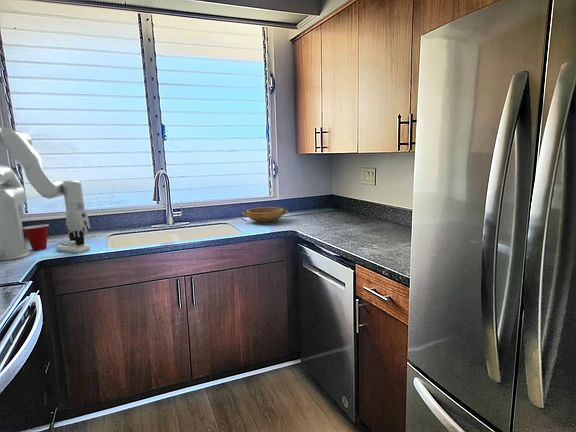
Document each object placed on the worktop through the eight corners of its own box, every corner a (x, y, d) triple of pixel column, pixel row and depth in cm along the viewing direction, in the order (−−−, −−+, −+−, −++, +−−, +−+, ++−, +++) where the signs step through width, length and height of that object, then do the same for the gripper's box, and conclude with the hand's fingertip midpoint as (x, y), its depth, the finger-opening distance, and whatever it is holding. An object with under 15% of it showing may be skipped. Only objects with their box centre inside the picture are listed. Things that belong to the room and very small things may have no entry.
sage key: (73, 246, 176) (72, 242, 176) (68, 245, 177) (68, 241, 177) (77, 245, 178) (76, 241, 178) (72, 244, 179) (72, 240, 179)
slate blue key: (66, 248, 178) (66, 244, 178) (62, 247, 179) (61, 243, 179) (70, 246, 180) (70, 243, 180) (66, 246, 181) (65, 242, 181)
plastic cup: (47, 245, 190) (44, 222, 188) (55, 248, 184) (52, 224, 181) (23, 249, 182) (19, 226, 180) (30, 253, 175) (26, 228, 173)
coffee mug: (69, 240, 199) (67, 222, 197) (87, 238, 202) (85, 221, 200) (65, 245, 188) (62, 226, 187) (84, 243, 191) (81, 224, 190)
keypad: (79, 253, 173) (78, 248, 172) (57, 250, 178) (56, 245, 178) (90, 250, 178) (89, 245, 177) (68, 247, 184) (67, 243, 183)
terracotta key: (80, 249, 174) (80, 245, 174) (75, 249, 176) (75, 245, 175) (84, 248, 176) (84, 244, 176) (79, 247, 178) (79, 243, 177)
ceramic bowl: (241, 227, 222) (241, 214, 221) (242, 219, 246) (242, 207, 244) (290, 224, 225) (290, 212, 224) (286, 217, 249) (286, 206, 247)
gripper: (93, 205, 173) (98, 243, 176) (71, 205, 179) (76, 241, 182) (79, 208, 166) (84, 247, 170) (56, 207, 172) (62, 245, 175)
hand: (80, 244), depth 176 cm, fingers closed
